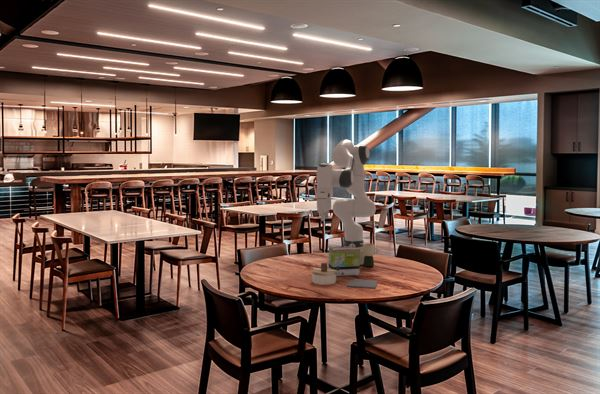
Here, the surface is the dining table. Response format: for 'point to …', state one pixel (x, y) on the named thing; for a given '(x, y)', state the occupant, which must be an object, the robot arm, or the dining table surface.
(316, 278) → the bowl
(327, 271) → the lid
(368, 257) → the character mug
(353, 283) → the mat
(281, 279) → the dining table surface
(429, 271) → the dining table surface
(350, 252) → the tea box
